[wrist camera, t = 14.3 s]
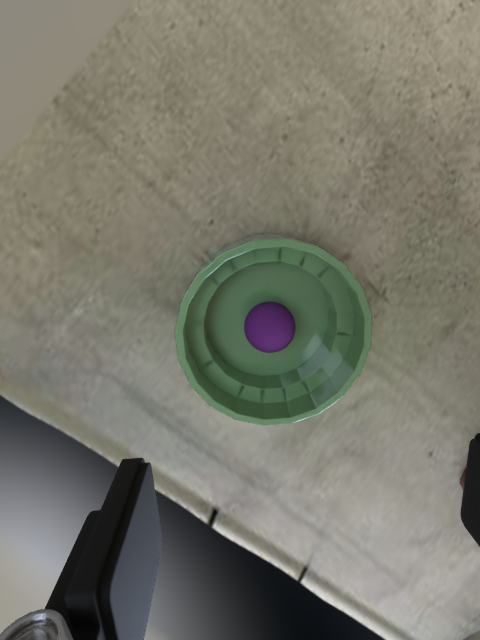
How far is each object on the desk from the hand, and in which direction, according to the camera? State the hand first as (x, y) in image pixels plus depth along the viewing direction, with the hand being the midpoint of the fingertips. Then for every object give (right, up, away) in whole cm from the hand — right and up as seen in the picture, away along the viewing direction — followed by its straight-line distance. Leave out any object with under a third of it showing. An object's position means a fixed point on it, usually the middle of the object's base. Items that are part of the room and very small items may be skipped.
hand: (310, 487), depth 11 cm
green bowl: (0, +5, +24) cm, 24 cm away
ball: (0, +4, +21) cm, 22 cm away
